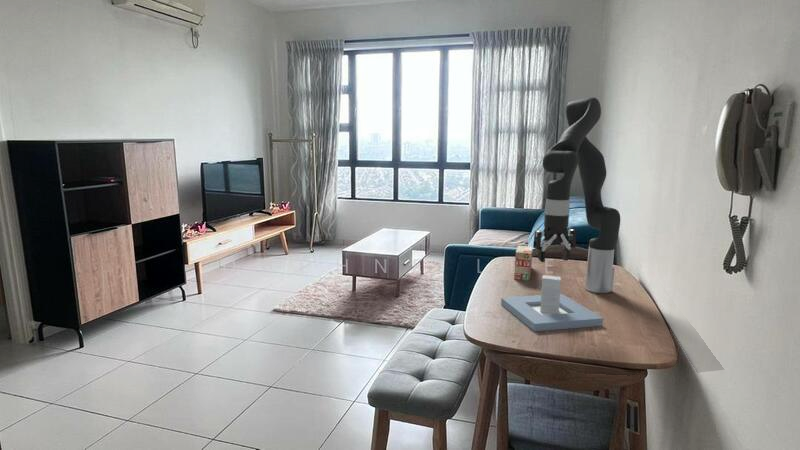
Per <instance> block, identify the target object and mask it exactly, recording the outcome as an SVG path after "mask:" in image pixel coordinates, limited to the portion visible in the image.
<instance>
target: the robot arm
mask: <svg viewBox="0 0 800 450" xmlns="http://www.w3.org/2000/svg"><path fill="white" fill-rule="evenodd" d="M565 106H566V107H565V116H566V120H567V121H566V122H567V124H568V127H567V128H566V129H565V130H564V131H563V132H562V134H561V135H560V137H559V139H558V142H557V143H555V144H554V145H553V146H552V147H550V148H549V149H548V150H547V151H546V152H545V154H544V156H543V159H542V167H543V169H544V170H545V172H547V173H551V174H563V176H562V177H561V178H560V179H555V180H554V179H553V180H550V181H548V183H547V188H546V200H545V204H544V205H545V207H544V218H543V220H544V221H543V222H544V223H543V227H544V229H543V230H542V231H541V230H535V231H534V236H533V246H532V249H535V250H537V251H538V254H537V255H538V261H539V262H541V263H545V262H546V249H547V248H548V247H550V245H551V244H552V245H554V244H559V245H560V244H561V246H562V247H563V249H562V257H561V259H562V260H563V261H565V262H566V261H569V259H570V253H571V250H572V249H574V248H576V247H577V231H576V230H575V229H574V228H569V229H568V227H569V221H570V220H569V219H570V206H571V205H570V196H571V195H570V193H571V192H570V191H571V187H572V182H573V179H574V176H575V173H576V170H577V168H578V171H579V176H580V180H581V184H582V190H583V191H582V192H583V197H584V204H585V205H584V206H585V207H584V208H585V215H586V220H587V221H586V222H587V224H588V226H589V227H591V228H592V229H594V230H598V231H599V232H598V236H596V237H594V238H591V239H589V243H588V253H587V263H586V264H587V265H586V273H585V274H586V275H585V285H584V286H585V287H584V289H585V290H587V291H588V292H592V293H595V294H596V293H597V294H607V293H608V294H609V293H610V292H613V289H614V278H615V270H616V269H615V267H614V259H615V258H614V257H615V248H616V247H615V246H616V245H617V242H618V238H619V232H620V227H621V214H620V211H619V210H618V209H616V208H613V207H609V206H604V204H603V200H602V188H603V187H604V184H605V181H606V178H607V166H606V161H605V157H604V155H603V154H602V152H601V150H599V148H597V147H596V145H594V144H593V143H592V141H591V140H589V139H588V137H587V135H588V134H589V133H590V132H591V130H592V129H593V128H594V127H595V126H596V125H597V123H598V122H599V120H600V118H601V115H602V107H601V103H600V101H599V99H598V98H597V97H586V98H582V99H578V100H573V101H569V102H568V103H567V104H566V105H565ZM543 236H544V237H543ZM567 236H568V240H567V238H566V237H567ZM542 238H543V239H542Z"/></svg>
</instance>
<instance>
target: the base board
mask: <svg viewBox="0 0 800 450" xmlns="http://www.w3.org/2000/svg"><path fill="white" fill-rule="evenodd" d="M500 299H501V300H500V301H501V302H500V305H501V306H502V307H504V308H505V309H506V310H507V311H509V312H510V313H511V314H512V315H513V316H514V317H515V318H517V319H518V320H519V321H521V323H523V324H524V325H526V327H528V328H529V329H530V330H532V331H533V332H542V331H546V332H547V331H554V330H555V331H556V330H566V329H579V328H591V327H600V326H601V327H602V326H603V323H604V318H603V317H601V316H600V315H598V314H597V313H595V312H593V311H592V310H590V309H589V308H586V307H585V306H583V305H581V304H579V303H578V302H576V301H575V300H573V299H571V298H569V297H568V296H566V295H565V294H563V293H560V302H559V314H552V313H544V312H540V307H541V294H538V295H535V294H534V295H522V296H508V297H501V298H500Z"/></svg>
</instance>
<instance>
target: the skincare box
mask: <svg viewBox="0 0 800 450" xmlns="http://www.w3.org/2000/svg"><path fill="white" fill-rule="evenodd" d="M541 277H542V279H541V292H540V295H541V307H540V312H544V313H552V314H559V302H560V294H561V285H562V277H561V276H557V275H544V274H543V275H542V276H541Z"/></svg>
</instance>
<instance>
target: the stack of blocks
mask: <svg viewBox="0 0 800 450" xmlns="http://www.w3.org/2000/svg"><path fill="white" fill-rule="evenodd" d="M532 262H533V246H529V245H527V246H526V245H517V249H516V250H515V260H514V273H513V280H519V281H527V282H529V281H530V278H531V272H532V265H533V264H532Z"/></svg>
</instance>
